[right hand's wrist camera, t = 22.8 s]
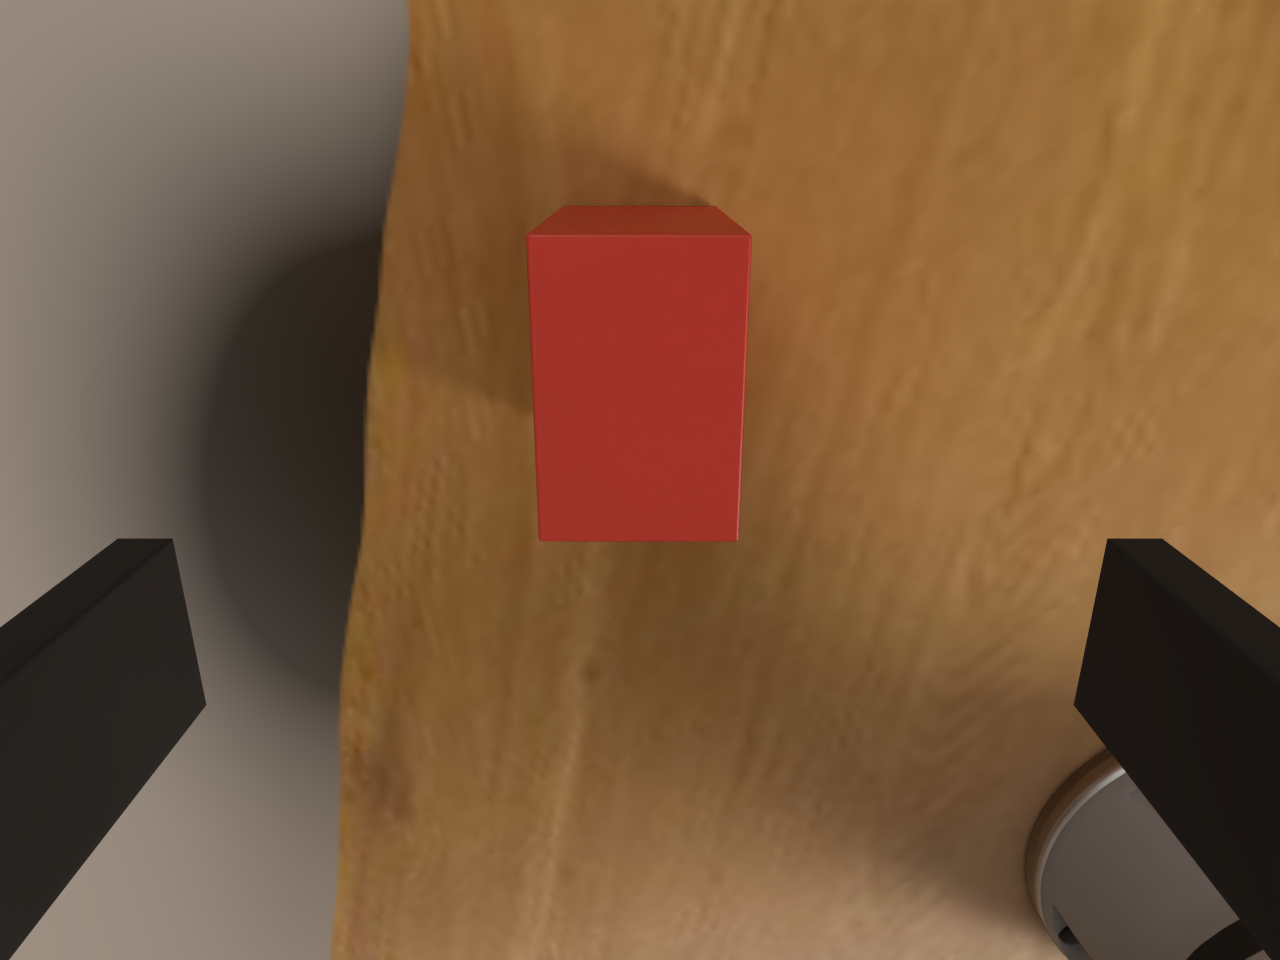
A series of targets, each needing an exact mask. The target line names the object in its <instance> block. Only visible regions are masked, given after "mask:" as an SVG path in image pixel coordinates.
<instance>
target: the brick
mask: <svg viewBox="0 0 1280 960" xmlns="http://www.w3.org/2000/svg"><path fill="white" fill-rule="evenodd" d="M526 245H527V269H528V292H529V316H530V340H531V363H532V387H533V410H534V434H535V458H536V481H537V505H538V529H539V539H540V541H738V539H739V518H740V495H741V473H742V450H743V427H744V404H745V381H746V359H747V336H748V313H749V290H750V268H751V245H752V237H751V234H749V233H748V232H747V231H746V230H744V229H743V228H742V227H741V226H739V225H738V224H737V223H736V222H734V221H733V220H732V219H731V218H729V217H728V216H727V215H726V214H724V213H723V212H722V211H721V210H719V209H718V208H717V207H715V206H563V207H561V208H560V209H559V210H558V211H556V212H555V213H554V214H553V215H551V216H550V217H549V218H547V219H546V220H545V221H544V222H542V223H541V224H540V225H539V226H537V227H536V228H535V229H533V230H532V231H531V232H530V233H528V234H527V236H526Z"/></svg>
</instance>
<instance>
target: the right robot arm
mask: <svg viewBox="0 0 1280 960" xmlns="http://www.w3.org/2000/svg"><path fill="white" fill-rule="evenodd" d="M205 706H206V702H205V697H204V692H203V687H202V682H201V677H200V672H199V667H198V662H197V657H196V652H195V647H194V642H193V637H192V633H191V628H190V623H189V618H188V613H187V608H186V603H185V598H184V593H183V588H182V583H181V578H180V573H179V568H178V563H177V558H176V553H175V549H174V544H173V539H117V540H116V541H114V542H113V543H112V544H110V545H109V546H108V547H106V548H105V549H104V550H102V551H101V552H100V553H98V554H97V555H96V556H94V557H93V558H92V559H90V560H89V561H88V562H86V563H85V564H84V565H82V566H81V567H80V568H78V569H77V570H76V571H74V572H73V573H72V574H70V575H69V576H68V577H66V578H65V579H64V580H63V581H61V582H60V583H59V584H57V585H56V586H55V587H53V588H52V589H51V590H49V591H48V592H47V593H45V594H44V595H43V596H41V597H40V598H39V599H37V600H36V601H35V602H33V603H32V604H31V605H29V606H28V607H27V608H25V609H24V610H23V611H21V612H20V613H19V614H17V615H16V616H15V617H14V618H12V619H11V620H10V621H8V622H7V623H6V624H4V625H3V626H2V627H0V960H9V959H10V958H11V957H12V955H13V954H14V953H15V951H16V950H17V949H18V947H19V946H20V945H21V944H22V942H23V941H24V940H25V938H26V937H27V936H28V934H29V933H30V932H31V931H32V929H33V928H34V927H35V925H36V924H37V923H38V922H39V920H40V919H41V918H42V916H43V915H44V914H45V912H46V911H47V910H48V909H49V907H50V906H51V905H52V903H53V902H54V901H55V900H56V898H57V897H58V896H59V894H60V893H61V892H62V891H63V889H64V888H65V887H66V885H67V884H68V883H69V882H70V880H71V879H72V878H73V876H74V875H75V874H76V873H77V871H78V870H79V869H80V867H81V866H82V865H83V863H84V862H85V861H86V860H87V858H88V857H89V856H90V854H91V853H92V852H93V851H94V849H95V848H96V847H97V845H98V844H99V843H100V842H101V840H102V839H103V838H104V836H105V835H106V834H107V832H108V831H109V830H110V829H111V827H112V826H113V825H114V823H115V822H116V821H117V820H118V818H119V817H120V816H121V814H122V813H123V812H124V810H125V809H126V808H127V807H128V805H129V804H130V803H131V801H132V800H133V799H134V798H135V796H136V795H137V794H138V792H139V791H140V790H141V789H142V787H143V786H144V785H145V783H146V782H147V781H148V780H149V778H150V777H151V776H152V774H153V773H154V772H155V770H156V769H157V768H158V767H159V765H160V764H161V763H162V761H163V760H164V759H165V758H166V756H167V755H168V754H169V752H170V751H171V750H172V748H173V747H174V746H175V745H176V743H177V742H178V741H179V739H180V738H181V737H182V736H183V734H184V733H185V732H186V730H187V729H188V728H189V727H190V725H191V724H192V723H193V721H194V720H195V719H196V718H197V716H198V715H199V714H200V712H201V711H202V710H203V708H204V707H205ZM1074 706H1075V707H1076V708H1077V710H1078V711H1079V712H1080V714H1081V715H1082V716H1083V718H1084V719H1085V720H1086V721H1087V723H1088V724H1089V725H1090V727H1091V728H1092V729H1093V730H1094V732H1095V733H1096V734H1097V736H1098V737H1099V738H1100V739H1101V741H1102V742H1103V743H1104V745H1105V746H1106V747H1107V749H1108V750H1106V751H1104V752H1103V753H1101V754H1099V755H1098V756H1096V757H1095V758H1094V759H1092V760H1091V761H1089V762H1088V763H1086V764H1085V765H1084V766H1083V767H1082V768H1080V769H1079V770H1078V771H1077V772H1075V773H1074V774H1073V775H1072V776H1071V777H1070V778H1069V779H1068V780H1067V781H1066V782H1065V783H1064V784H1063V785H1062V786H1061V787H1060V788H1059V790H1058V791H1057V792H1056V793H1055V794H1054V795H1053V797H1052V798H1051V800H1050V801H1049V802H1048V804H1047V805H1046V807H1045V808H1044V810H1043V812H1042V813H1041V815H1040V817H1039V818H1038V821H1037V823H1036V825H1035V827H1034V830H1033V832H1032V835H1031V838H1030V841H1029V845H1028V850H1027V856H1026V880H1027V885H1028V890H1029V893H1030V896H1031V899H1032V902H1033V904H1034V906H1035V908H1036V910H1037V912H1038V914H1039V916H1040V918H1041V920H1042V922H1043V923H1044V925H1045V927H1046V929H1047V931H1048V933H1049V935H1050V937H1051V938H1052V940H1053V941H1054V943H1055V944H1056V946H1057V947H1058V948H1059V949H1060V951H1061V952H1062V953H1063V954H1064V955H1065V956H1066V957H1067V958H1068V960H1280V627H1278V626H1277V625H1276V624H1274V623H1273V622H1272V621H1270V620H1269V619H1268V618H1267V617H1265V616H1264V615H1263V614H1261V613H1260V612H1259V611H1257V610H1256V609H1255V608H1253V607H1252V606H1251V605H1249V604H1248V603H1247V602H1245V601H1244V600H1243V599H1241V598H1240V597H1239V596H1237V595H1236V594H1235V593H1233V592H1232V591H1231V590H1229V589H1228V588H1227V587H1225V586H1224V585H1223V584H1221V583H1220V582H1219V581H1217V580H1216V579H1215V578H1214V577H1212V576H1211V575H1210V574H1208V573H1207V572H1206V571H1204V570H1203V569H1202V568H1200V567H1199V566H1198V565H1196V564H1195V563H1194V562H1192V561H1191V560H1190V559H1188V558H1187V557H1186V556H1184V555H1183V554H1182V553H1180V552H1179V551H1178V550H1176V549H1175V548H1174V547H1172V546H1171V545H1170V544H1168V543H1167V542H1166V541H1164V540H1163V539H1107V544H1106V549H1105V553H1104V558H1103V563H1102V568H1101V573H1100V578H1099V583H1098V588H1097V593H1096V598H1095V603H1094V608H1093V613H1092V618H1091V623H1090V628H1089V632H1088V637H1087V642H1086V647H1085V652H1084V657H1083V662H1082V667H1081V672H1080V677H1079V682H1078V687H1077V692H1076V697H1075V702H1074Z"/></svg>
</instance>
